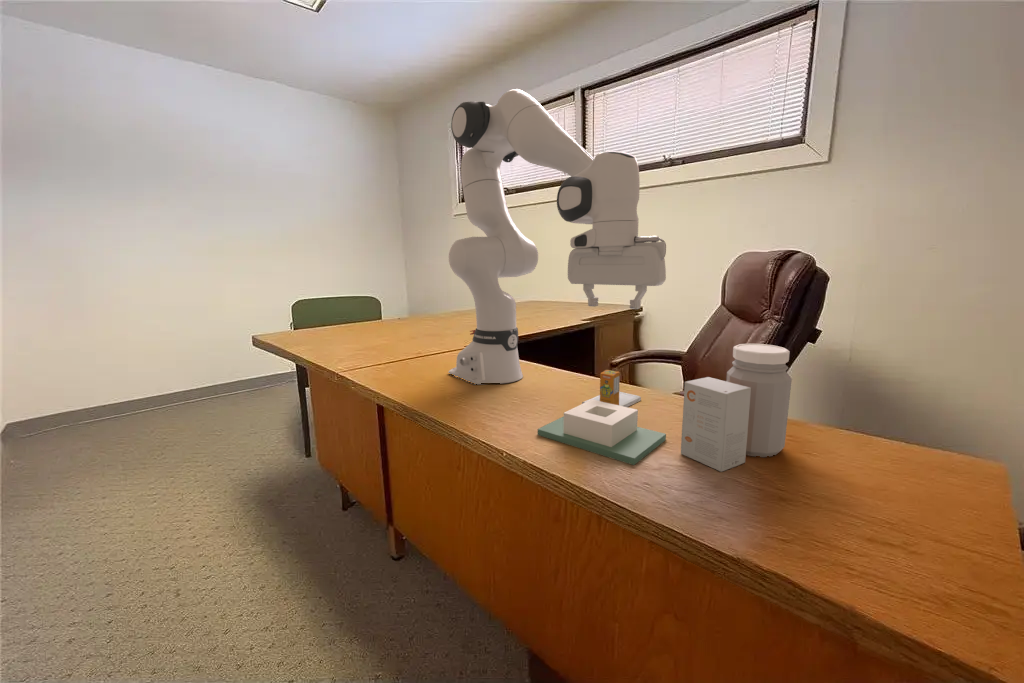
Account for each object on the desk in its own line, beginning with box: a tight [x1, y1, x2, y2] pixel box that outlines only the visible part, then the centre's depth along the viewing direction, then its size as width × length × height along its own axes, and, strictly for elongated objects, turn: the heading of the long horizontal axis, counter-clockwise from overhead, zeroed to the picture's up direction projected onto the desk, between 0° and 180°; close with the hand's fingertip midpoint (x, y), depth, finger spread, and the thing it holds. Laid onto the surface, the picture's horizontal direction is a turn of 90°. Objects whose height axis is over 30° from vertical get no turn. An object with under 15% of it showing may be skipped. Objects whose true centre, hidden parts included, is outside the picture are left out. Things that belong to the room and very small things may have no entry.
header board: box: [537, 398, 667, 466], centre depth 84 cm, size 20×13×5 cm, turn 49°
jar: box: [725, 343, 793, 458], centre depth 78 cm, size 10×10×18 cm
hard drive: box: [581, 391, 642, 408], centre depth 104 cm, size 2×8×12 cm
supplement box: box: [599, 369, 621, 405], centre depth 94 cm, size 3×3×10 cm
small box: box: [680, 376, 751, 473], centre depth 74 cm, size 8×6×13 cm
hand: (613, 307), depth 91 cm, fingers open, 8 cm apart
